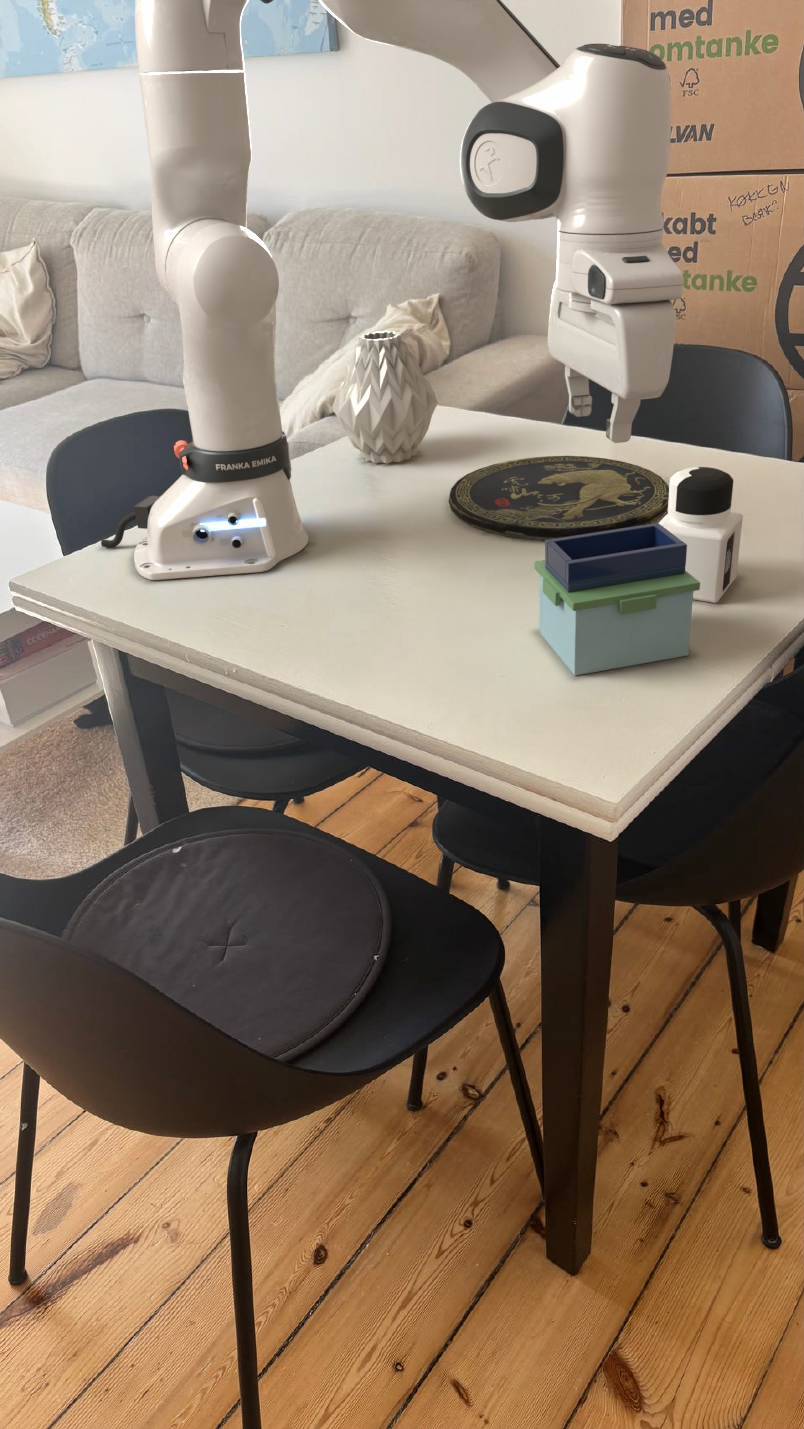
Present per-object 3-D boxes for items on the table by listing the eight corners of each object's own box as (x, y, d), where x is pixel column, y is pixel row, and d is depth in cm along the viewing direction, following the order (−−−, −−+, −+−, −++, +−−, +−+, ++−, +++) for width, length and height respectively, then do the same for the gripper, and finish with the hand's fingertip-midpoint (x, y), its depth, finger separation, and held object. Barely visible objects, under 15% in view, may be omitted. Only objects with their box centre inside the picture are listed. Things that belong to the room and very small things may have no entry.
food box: (569, 681, 102) (570, 605, 97) (529, 631, 111) (529, 560, 107) (699, 658, 104) (706, 583, 100) (649, 610, 114) (653, 541, 110)
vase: (323, 453, 171) (311, 334, 162) (415, 435, 176) (408, 319, 167) (360, 480, 158) (349, 353, 149) (458, 460, 163) (453, 336, 154)
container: (737, 577, 119) (748, 465, 113) (717, 604, 114) (728, 488, 107) (670, 567, 123) (677, 458, 116) (648, 593, 117) (654, 480, 111)
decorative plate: (450, 534, 132) (446, 459, 157) (451, 548, 133) (447, 472, 158) (693, 522, 130) (649, 449, 156) (691, 537, 131) (648, 462, 157)
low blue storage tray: (568, 592, 100) (568, 563, 98) (544, 568, 105) (545, 539, 104) (685, 573, 102) (687, 544, 100) (656, 550, 107) (658, 522, 106)
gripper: (534, 255, 99) (529, 404, 106) (618, 284, 82) (607, 460, 88) (597, 250, 100) (589, 398, 107) (694, 279, 83) (677, 453, 90)
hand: (598, 427), depth 98 cm, fingers open, 8 cm apart
